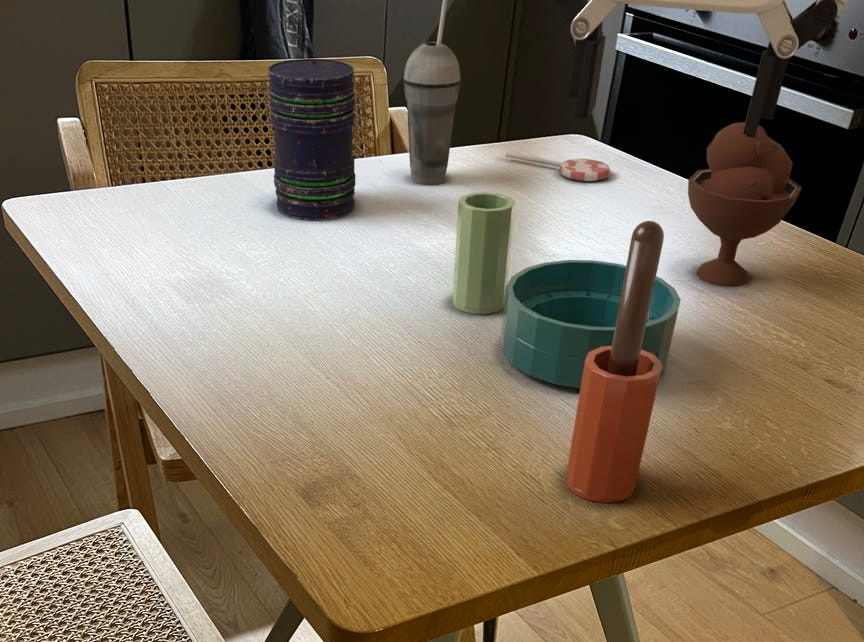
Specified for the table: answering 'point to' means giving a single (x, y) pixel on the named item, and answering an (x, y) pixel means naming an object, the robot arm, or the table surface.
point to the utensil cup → (611, 427)
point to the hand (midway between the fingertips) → (666, 122)
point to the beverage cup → (431, 107)
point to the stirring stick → (636, 298)
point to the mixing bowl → (575, 317)
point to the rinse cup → (482, 252)
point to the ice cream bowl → (740, 196)
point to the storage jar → (313, 137)
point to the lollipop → (573, 167)
